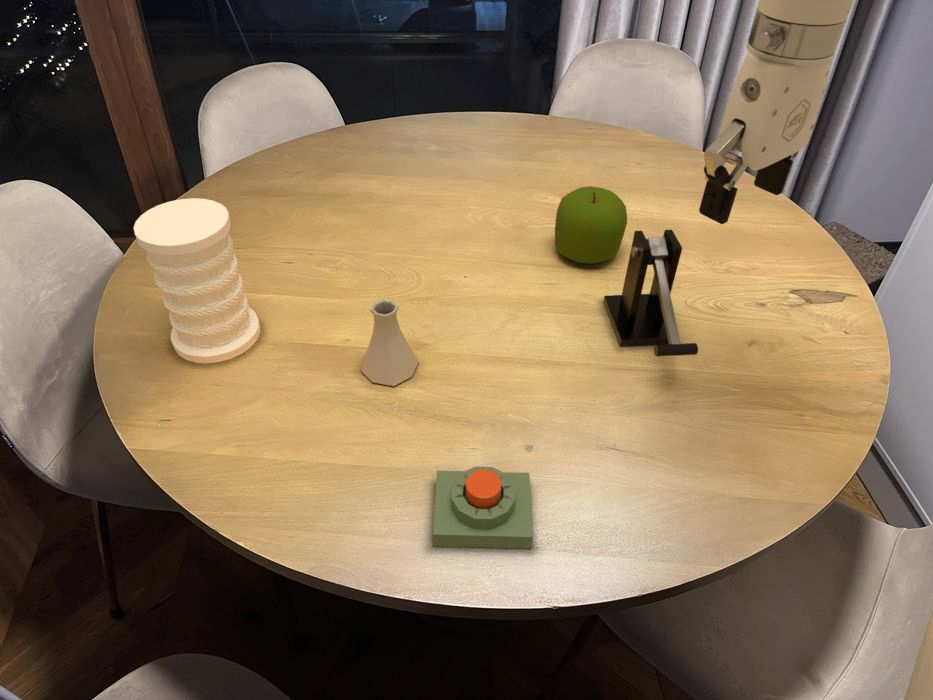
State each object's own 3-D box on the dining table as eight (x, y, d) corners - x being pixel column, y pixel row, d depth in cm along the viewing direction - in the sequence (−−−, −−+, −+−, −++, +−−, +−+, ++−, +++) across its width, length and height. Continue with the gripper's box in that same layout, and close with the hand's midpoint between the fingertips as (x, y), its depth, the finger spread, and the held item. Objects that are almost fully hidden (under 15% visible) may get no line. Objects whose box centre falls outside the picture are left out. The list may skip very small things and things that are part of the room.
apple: (618, 276, 104) (631, 214, 97) (548, 267, 106) (555, 206, 98) (621, 238, 112) (632, 178, 105) (556, 230, 114) (563, 171, 107)
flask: (428, 361, 89) (426, 301, 83) (395, 394, 85) (390, 333, 78) (384, 342, 92) (379, 282, 85) (350, 373, 87) (341, 312, 81)
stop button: (500, 480, 70) (501, 469, 69) (501, 509, 68) (501, 498, 67) (466, 479, 70) (466, 468, 69) (465, 508, 68) (465, 497, 67)
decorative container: (220, 374, 87) (182, 257, 75) (154, 347, 91) (108, 231, 79) (277, 323, 95) (251, 210, 83) (214, 300, 99) (180, 188, 87)
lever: (693, 358, 83) (700, 350, 81) (653, 359, 83) (659, 352, 81) (669, 246, 90) (675, 236, 87) (632, 247, 89) (637, 237, 87)
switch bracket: (677, 344, 92) (701, 260, 83) (619, 346, 92) (638, 262, 83) (656, 299, 100) (676, 217, 91) (603, 301, 99) (618, 219, 90)
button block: (527, 485, 74) (530, 461, 72) (531, 549, 68) (534, 526, 66) (437, 482, 75) (436, 459, 72) (432, 546, 69) (431, 524, 66)
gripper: (776, 67, 55) (720, 246, 66) (882, 27, 63) (816, 193, 74) (700, 42, 59) (660, 214, 70) (808, 8, 67) (757, 167, 79)
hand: (740, 203), depth 72 cm, fingers open, 9 cm apart
